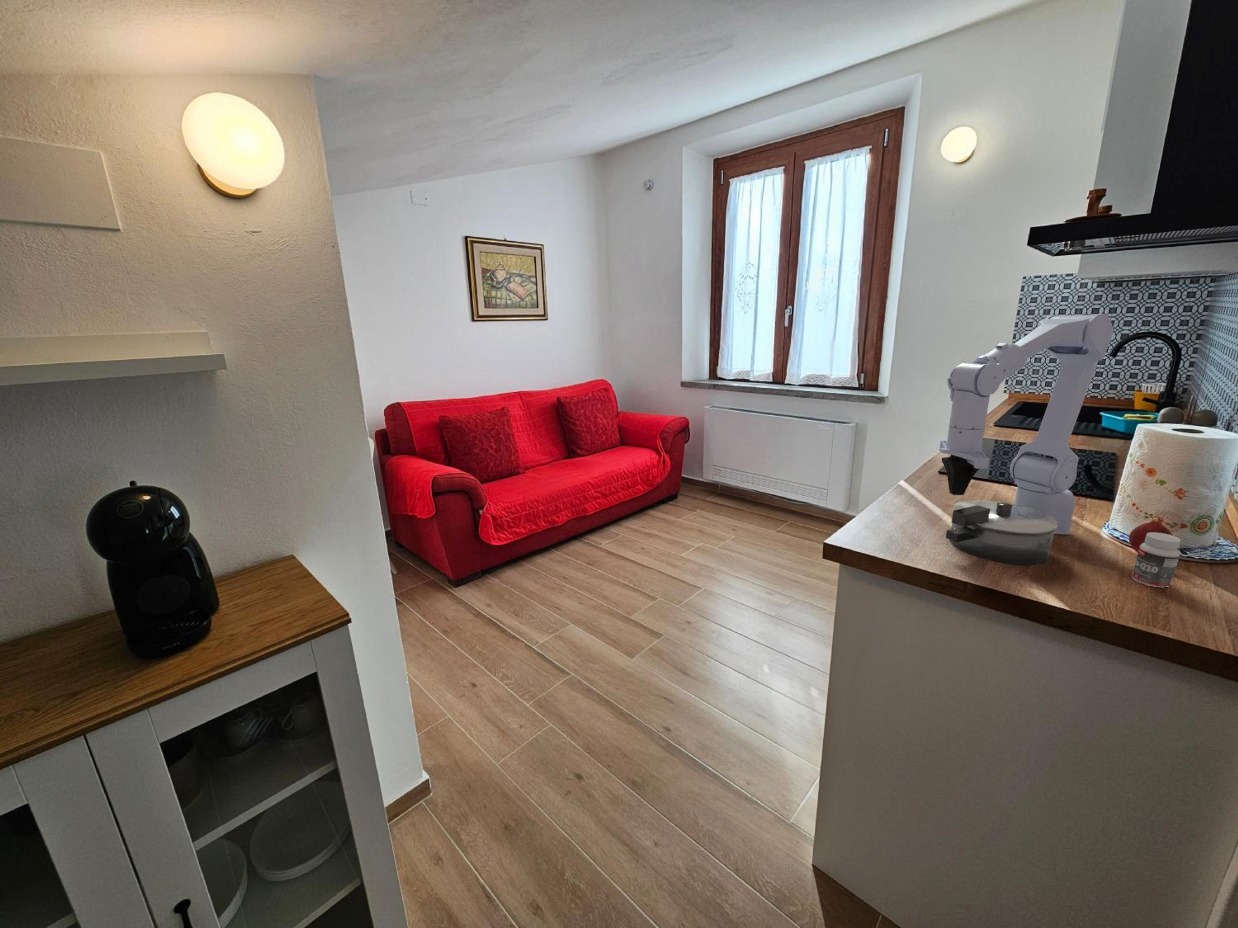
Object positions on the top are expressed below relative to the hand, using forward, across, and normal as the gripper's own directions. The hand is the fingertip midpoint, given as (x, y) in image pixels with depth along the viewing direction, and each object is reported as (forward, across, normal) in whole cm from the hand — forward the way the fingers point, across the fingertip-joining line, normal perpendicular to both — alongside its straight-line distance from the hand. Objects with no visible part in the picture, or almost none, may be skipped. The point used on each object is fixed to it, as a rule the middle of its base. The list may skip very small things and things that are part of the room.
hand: (956, 494), depth 103 cm
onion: (+11, +5, +32) cm, 34 cm away
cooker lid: (+4, +3, +6) cm, 8 cm away
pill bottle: (+11, +15, +25) cm, 31 cm away
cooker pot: (+10, +3, +6) cm, 12 cm away
